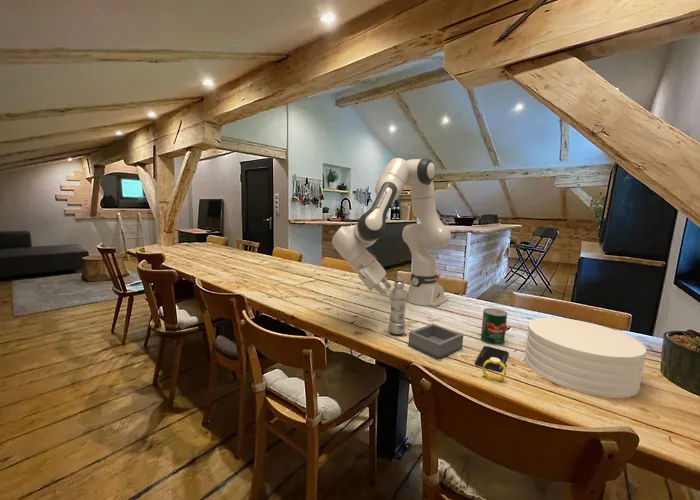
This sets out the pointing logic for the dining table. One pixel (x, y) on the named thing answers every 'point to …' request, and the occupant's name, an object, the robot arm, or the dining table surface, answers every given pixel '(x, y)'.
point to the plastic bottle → (397, 308)
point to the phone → (487, 354)
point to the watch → (495, 361)
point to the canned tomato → (493, 326)
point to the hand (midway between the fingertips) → (387, 291)
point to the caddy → (435, 341)
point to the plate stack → (585, 357)
